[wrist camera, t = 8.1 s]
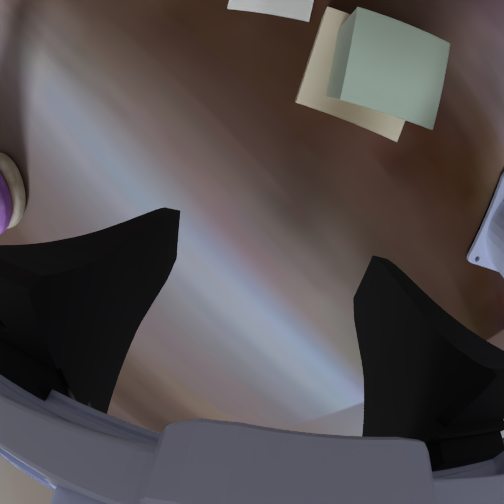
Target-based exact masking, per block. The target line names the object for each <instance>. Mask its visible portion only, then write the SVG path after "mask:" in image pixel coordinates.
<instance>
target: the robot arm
mask: <svg viewBox="0 0 504 504" xmlns="http://www.w3.org/2000/svg"><path fill="white" fill-rule="evenodd" d="M179 219H180V211H179V210H174V209H169V208H160V209H157V210H154V211H151V212H149V213H146V214H144V215H141V216H138V217H136V218H133V219H131V220H128V221H126V222H123V223H120V224H117V225H114V226H111V227H109V228H106V229H103V230H100V231H96V232H93V233H89V234H86V235H82V236H78V237H74V238H68V239H63V240H58V241H52V242H45V243H37V244H27V245H0V455H1V456H2V457H3V458H5V459H6V460H7V461H9V462H10V463H11V464H13V465H14V466H16V467H17V468H19V469H20V470H22V471H23V472H25V473H26V474H28V475H29V476H31V477H32V478H34V479H35V480H37V481H39V482H40V483H42V484H43V485H45V486H47V487H49V488H50V489H52V490H54V491H55V492H54V494H53V497H52V499H51V502H50V504H504V438H503V439H502V436H501V433H500V431H502V430H504V420H503V419H504V351H503V350H501V349H499V348H498V347H496V346H494V345H492V344H491V343H489V342H487V341H486V340H484V339H482V338H481V337H479V336H478V335H476V334H475V333H473V332H472V331H470V330H469V329H467V328H466V327H465V326H463V325H462V324H461V323H459V322H458V321H457V320H456V319H454V318H453V317H452V316H451V315H449V314H448V313H447V312H446V311H444V310H443V309H442V308H441V307H440V306H439V305H438V304H436V303H435V302H434V301H433V300H432V299H431V298H430V297H429V296H428V295H427V294H426V293H425V292H423V291H422V290H421V289H420V288H419V287H418V286H417V285H416V284H415V283H414V282H413V281H412V280H411V279H410V278H409V277H408V276H407V275H406V274H405V273H404V272H403V271H401V270H400V269H399V268H398V267H397V266H396V265H395V264H393V263H392V262H391V261H389V260H388V259H385V258H381V257H377V256H372V259H371V261H370V263H369V265H368V268H367V270H366V272H365V274H364V277H363V279H362V281H361V283H360V285H359V287H358V290H357V292H356V294H355V296H354V298H353V299H354V321H355V327H356V332H357V338H358V343H359V349H360V355H361V360H362V366H363V375H364V424H363V435H362V437H359V436H340V435H326V434H315V433H305V432H297V431H289V430H281V429H274V428H268V427H262V426H256V425H250V424H245V423H240V422H229V421H220V420H211V419H203V418H201V419H195V420H188V421H181V422H175V423H172V424H169V425H167V427H166V428H165V430H164V431H163V432H162V433H158V432H155V431H152V430H149V429H146V428H143V427H140V426H137V425H134V424H131V423H129V422H126V421H123V420H120V419H118V418H115V417H113V416H110V415H108V414H107V411H108V407H109V404H110V400H111V397H112V394H113V391H114V388H115V385H116V382H117V379H118V376H119V373H120V370H121V367H122V365H123V362H124V360H125V357H126V354H127V352H128V350H129V347H130V345H131V342H132V340H133V338H134V335H135V333H136V331H137V329H138V327H139V325H140V323H141V321H142V320H143V318H144V316H145V315H146V313H147V311H148V310H149V308H150V307H151V305H152V303H153V302H154V300H155V298H156V297H157V295H158V294H159V292H160V290H161V289H162V287H163V285H164V284H165V282H166V280H167V279H168V276H169V274H170V272H171V270H172V268H173V265H174V263H175V261H176V257H177V243H178V230H179ZM477 256H478V257H477ZM476 257H477V258H476ZM475 258H476V259H475ZM467 259H468V261H469V262H470V263H474V264H477V265H480V266H483V267H486V268H489V269H492V270H495V271H498V272H500V274H501V275H502V276H503V277H504V172H503V173H502V175H501V177H500V180H499V183H498V186H497V188H496V191H495V194H494V196H493V199H492V201H491V204H490V206H489V209H488V211H487V213H486V216H485V218H484V220H483V223H482V225H481V227H480V229H479V231H478V234H477V236H476V238H475V240H474V242H473V244H472V246H471V248H470V250H469V252H468V254H467Z"/></svg>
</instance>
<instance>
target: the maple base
mask: <svg viewBox="0 0 504 504" xmlns="http://www.w3.org/2000/svg"><path fill="white" fill-rule="evenodd" d="M349 16H350V14H348V13H345V12H342V11H340V10H337V9H334V8H331V7H328V6H327V8H326V10H325V13H324V15H323V17H322V20H321V23H320V26H319V29H318V32H317V35H316V38H315V41H314V44H313V47H312V50H311V53H310V56H309V59H308V62H307V65H306V69H305V72H304V75H303V78H302V81H301V84H300V87H299V90H298V93H297V96H296V99H295V102H296V103H299V104H302V105H305V106H308V107H311V108H314V109H317V110H320V111H323V112H325V113H328V114H331V115H333V116H336V117H339V118H341V119H344V120H347V121H349V122H352V123H354V124H357V125H359V126H361V127H364V128H366V129H369V130H371V131H373V132H376V133H378V134H380V135H382V136H385V137H387V138H389V139H391V140H393V141H396V142H397V141H398V138H399V136H400V133H401V130H402V128H403V125H404V122H405V120H403V119H400V118H397V117H394V116H391V115H388V114H385V113H382V112H379V111H376V110H373V109H370V108H366V107H363V106H360V105H356V104H353V103H349V102H345V101H342V100H338V99H334V98H330V97H326V91H327V86H328V81H329V76H330V71H331V66H332V60H333V55H334V50H335V45H336V39H337V34H338V29H339V28H340V27H341V25H342V24H343V23H344V22H345V21H346V20H347V18H348V17H349Z"/></svg>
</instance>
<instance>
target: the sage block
mask: <svg viewBox="0 0 504 504" xmlns="http://www.w3.org/2000/svg"><path fill="white" fill-rule="evenodd" d="M449 48H450V43H448V42H446V41H444V40H442V39H440V38H438V37H436V36H434V35H432V34H430V33H427V32H425V31H423V30H421V29H418V28H416V27H413V26H411V25H409V24H406V23H404V22H401V21H398V20H396V19H393V18H390V17H388V16H385V15H382V14H379V13H376V12H373V11H370V10H367V9H363V8H360V7H357V8H356V9H355V10H354V11H353V13H352V14H351V15H350V16H349V17H348V18H347V20H346V21H345V22H344V23H343V24H342V25H341V27H340V28H339V29H338V34H337V39H336V45H335V50H334V55H333V60H332V66H331V71H330V76H329V81H328V86H327V91H326V97H330V98H334V99H338V100H342V101H345V102H349V103H353V104H356V105H360V106H363V107H366V108H370V109H373V110H376V111H379V112H382V113H385V114H388V115H391V116H394V117H397V118H400V119H403V120H406V121H409V122H412V123H415V124H417V125H420V126H423V127H425V128H428V129H431V130H433V126H434V123H435V119H436V114H437V110H438V106H439V102H440V97H441V92H442V88H443V83H444V77H445V72H446V67H447V61H448V55H449Z"/></svg>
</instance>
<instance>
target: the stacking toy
mask: <svg viewBox="0 0 504 504" xmlns="http://www.w3.org/2000/svg"><path fill="white" fill-rule="evenodd" d="M25 205H26V195H25V188H24V184H23V180H22V177H21V174H20V172H19V170H18V168H17V166H16V165H15V163H14V162H13V161H12V160H11V159H10V158H9V157H8V156H7V155H5V154H3V153H0V234H2V233H3V232H4V231H5V230H6V229H8V228H12V227H14V226H15V225H17V224H18V223H19V221H20V220H21V218H22V216H23V214H24V210H25Z"/></svg>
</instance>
